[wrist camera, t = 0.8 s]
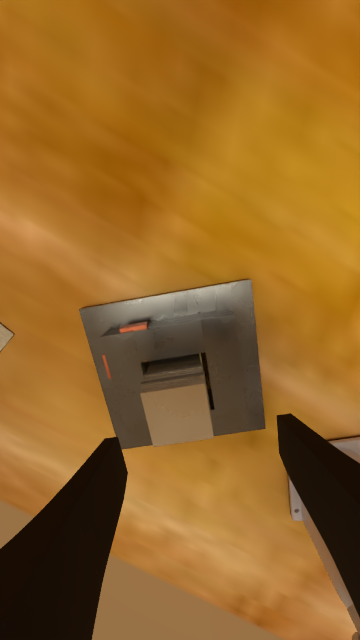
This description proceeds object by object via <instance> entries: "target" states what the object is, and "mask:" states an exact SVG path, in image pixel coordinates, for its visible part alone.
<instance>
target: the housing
mask: <svg viewBox="0 0 360 640" xmlns="http://www.w3.org/2000/svg"><path fill="white" fill-rule="evenodd" d="M79 311H80V315H81V318H82V321H83V325H84V328H85V332H86V335H87V339H88V342H89V345H90V349H91V352H92V356H93V359H94V363H95V366H96V369H97V373H98V376H99V380H100V383H101V387H102V390H103V393H104V397H105V400H106V404H107V407H108V410H109V414H110V417H111V421H112V424H113V428H114V431H115V434H116V437H118V439H119V442H120V446H121V449H128V448H135V447H142V446H149V445H153V444H152V440H151V435H150V431H149V427H148V423H147V419H146V415H145V411H144V407H143V403H142V399H141V395H140V392H141V389H142V387H141V382H144V379H145V378H144V373H147V370H148V366H149V361H154V360H160V359H166V358H172V357H179V356H185V355H191V354H197V353H204V355H205V361H206V367H207V373H208V380H209V386H210V389H207V392H208V398H209V404H210V410H211V416H212V422H213V429H212V430H213V436H218V435H225V434H232V433H239V432H246V431H253V430H260V429H265V419H264V408H263V398H262V387H261V377H260V366H259V356H258V345H257V335H256V324H255V314H254V303H253V293H252V282H251V279H243V280H238V281H232V282H226V283H220V284H215V285H209V286H203V287H198V288H192V289H186V290H180V291H175V292H169V293H163V294H158V295H152V296H146V297H140V298H135V299H129V300H123V301H118V302H112V303H106V304H100V305H95V306H89V307H83V308H81V309H79Z"/></svg>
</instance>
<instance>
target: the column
mask: <svg viewBox="0 0 360 640" xmlns="http://www.w3.org/2000/svg"><path fill="white" fill-rule="evenodd" d="M144 378H145V379H144V382H141V387H142V389H141V392H140V395H141V399H142V403H143V407H144V411H145V415H146V419H147V423H148V427H149V431H150V435H151V440H152V444H153V447H156V446H163V445H170V444H177V443H184V442H191V441H198V440H205V439H212V438H214V436H213V430H212V429H213V422H212V416H211V410H210V404H209V398H208V392H207V386H206V379H205V374H204V370H203V364H202V359H201V353H197V354H191V355H185V356H179V357H172V358H166V359H160V360H154V361H150V363H149V366H148V370H147V373H144Z"/></svg>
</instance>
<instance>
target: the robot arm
mask: <svg viewBox="0 0 360 640" xmlns="http://www.w3.org/2000/svg"><path fill="white" fill-rule="evenodd" d="M277 427H278V442H279V454H280V456H281V459H282V461H283V464H284V466H285V468H286V471H287V473H288V480H289V495H290V509H291V516H292V519H293V520H294V521H301V520H303V522H304V524H305V526H306V528H307V530H308V532H309V534H310V537H311V539H312V541H313V543H314V545H315V547H316V549H317V551H318V554H319V556H320V558H321V560H322V562H323V564H324V566H325V568H326V570H327V573H328V575H329V577H330V579H331V581H332V583H333V585H334V587H335V589H336V591H337V593H338V595H339V597H340V598H341V600H342V601H343V603H344V604H345V605H346V607H347V610H348V612H349V614H350V617H351V619H352V621H353V623H354V625H355V627H356V629H357V631H358V632H355V633H354V634H353V636H352V640H360V437H356V438H349V439H342V440H334V441H327V440H325V439H324V438H322V437H321V436H320V435H318V434H317V433H316V432H314V431H313V430H312V429H310V428H309V427H308V426H306V425H305V424H304V423H303V422H301V421H300V420H299V419H297V418H296V417H295V416H293V415H292V414H284V415H277ZM127 474H128V472H127V468H126V464H125V461H124V457H123V453H122V450H121V446H120V442H119V439H118V437H113V438H105V439H104V440H103V441H102V443H101V444H100V445H99V446H98V447H97V448H96V450H95V451H94V452H93V453H92V454H91V456H90V457H89V458H88V459H87V460H86V462H85V463H84V464H83V465H82V466H81V467H80V469H79V470H78V471H77V472H76V473H75V474H74V476H73V477H72V478H71V479H70V480H69V481H68V482H67V484H66V485H65V486H64V487H63V488H62V489H61V490H60V491H59V492H58V493H57V494H56V495H55V497H54V498H53V499H52V500H51V501H50V502H49V503H48V504H47V505H46V506H45V507H44V508H43V509H42V510H41V511H40V512H39V513H38V514H37V515H36V516H35V517H34V518H33V519H32V520H31V521H30V522H29V523H28V524H27V525H26V526H25V527H24V528H23V529H22V530H21V531H20V532H19V533H18V534H17V535H15V536H14V537H13V538H12V539H11V540H10V541H9V542H8V543H7V544H6V545H4V546H3V547H2V548H1V549H0V640H92V634H93V629H94V623H95V618H96V613H97V608H98V602H99V597H100V592H101V587H102V582H103V577H104V573H105V569H106V565H107V561H108V557H109V553H110V550H111V546H112V542H113V538H114V535H115V531H116V527H117V523H118V519H119V516H120V512H121V508H122V504H123V500H124V494H125V488H126V481H127Z"/></svg>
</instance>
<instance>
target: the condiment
mask: <svg viewBox="0 0 360 640" xmlns="http://www.w3.org/2000/svg"><path fill="white" fill-rule="evenodd" d="M13 335H14V334H13V333H11V332H10V331H9V330H7V329H6V328H5V327H3V326H2V325H1V324H0V351H1V350H2V349H3V348H4V346H5V345H6V344H7V342H8V341H9V340H10V339H11V337H12V336H13Z"/></svg>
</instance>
